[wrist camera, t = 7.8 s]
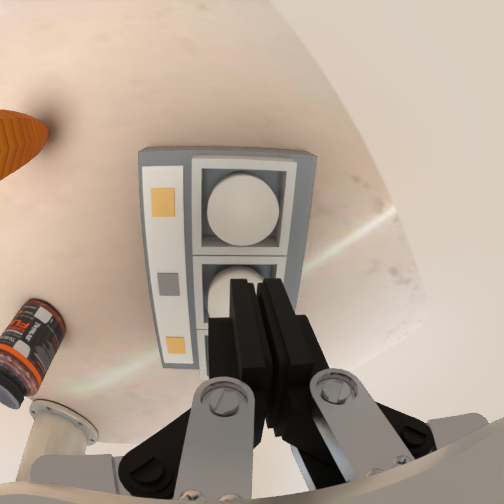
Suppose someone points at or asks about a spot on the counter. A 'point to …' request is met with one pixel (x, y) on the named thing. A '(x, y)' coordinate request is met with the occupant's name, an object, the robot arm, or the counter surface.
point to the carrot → (19, 140)
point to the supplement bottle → (28, 351)
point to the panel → (213, 236)
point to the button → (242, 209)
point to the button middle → (228, 288)
